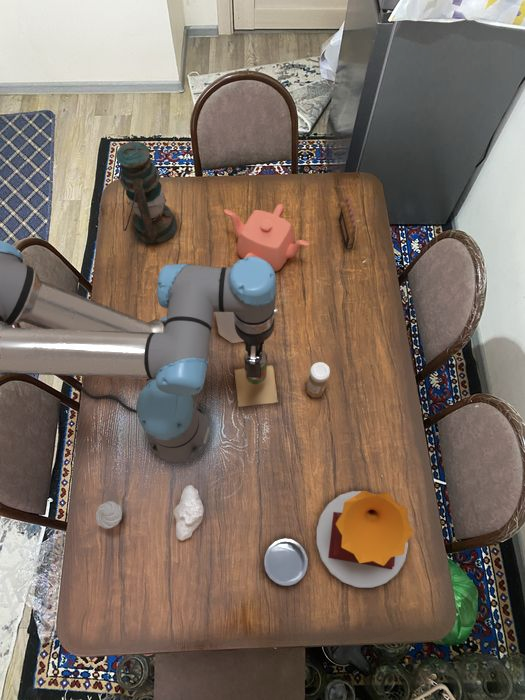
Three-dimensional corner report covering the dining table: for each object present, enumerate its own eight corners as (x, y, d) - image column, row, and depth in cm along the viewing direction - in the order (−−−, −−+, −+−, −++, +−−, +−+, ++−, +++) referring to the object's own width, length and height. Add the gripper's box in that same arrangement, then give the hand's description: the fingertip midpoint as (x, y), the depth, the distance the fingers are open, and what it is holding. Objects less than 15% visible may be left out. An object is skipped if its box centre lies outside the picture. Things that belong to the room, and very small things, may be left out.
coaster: (238, 407, 130) (238, 406, 129) (234, 370, 134) (234, 369, 133) (277, 402, 130) (277, 402, 130) (272, 365, 134) (272, 365, 134)
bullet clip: (338, 219, 152) (344, 191, 141) (344, 218, 152) (351, 190, 141) (345, 249, 148) (352, 223, 137) (352, 248, 148) (359, 223, 137)
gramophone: (321, 484, 122) (335, 465, 99) (408, 500, 121) (443, 483, 98) (309, 578, 114) (321, 580, 91) (402, 595, 113) (439, 602, 90)
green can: (270, 371, 125) (271, 352, 114) (259, 389, 123) (259, 371, 112) (252, 362, 126) (251, 342, 115) (241, 378, 124) (239, 360, 113)
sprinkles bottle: (327, 391, 131) (334, 373, 119) (312, 401, 130) (318, 383, 118) (316, 377, 133) (322, 357, 120) (302, 386, 132) (306, 367, 119)
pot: (242, 284, 143) (241, 260, 132) (226, 234, 150) (223, 206, 138) (306, 268, 146) (310, 242, 134) (287, 219, 152) (289, 190, 141)
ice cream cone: (120, 501, 121) (102, 492, 107) (138, 517, 119) (122, 510, 105) (103, 520, 119) (82, 514, 105) (120, 537, 118) (102, 533, 104)
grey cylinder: (263, 583, 114) (263, 584, 108) (265, 539, 118) (265, 537, 112) (304, 586, 114) (307, 586, 108) (305, 541, 117) (308, 540, 112)
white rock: (188, 542, 119) (214, 544, 111) (158, 538, 115) (184, 539, 107) (196, 489, 124) (222, 486, 115) (168, 483, 120) (193, 480, 111)
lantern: (179, 253, 147) (160, 180, 120) (128, 257, 147) (97, 185, 119) (175, 198, 155) (157, 117, 127) (127, 202, 154) (98, 122, 127)
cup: (211, 338, 137) (204, 306, 120) (222, 302, 141) (217, 265, 124) (252, 348, 136) (251, 316, 119) (262, 311, 140) (262, 275, 123)
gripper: (272, 363, 92) (269, 402, 114) (276, 276, 99) (273, 328, 121) (229, 361, 92) (235, 400, 114) (237, 274, 99) (241, 326, 121)
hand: (255, 363), depth 117 cm, fingers closed on green can, 5 cm apart
